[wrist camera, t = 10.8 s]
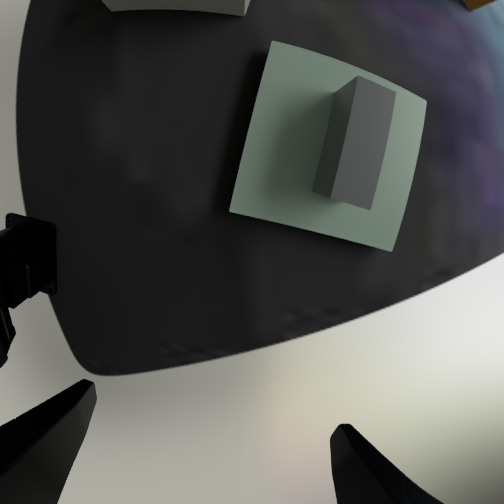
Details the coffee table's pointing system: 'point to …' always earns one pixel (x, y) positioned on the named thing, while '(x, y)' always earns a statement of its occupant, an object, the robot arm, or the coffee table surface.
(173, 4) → the storage box
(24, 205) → the coffee table surface
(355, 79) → the lid
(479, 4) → the small box
